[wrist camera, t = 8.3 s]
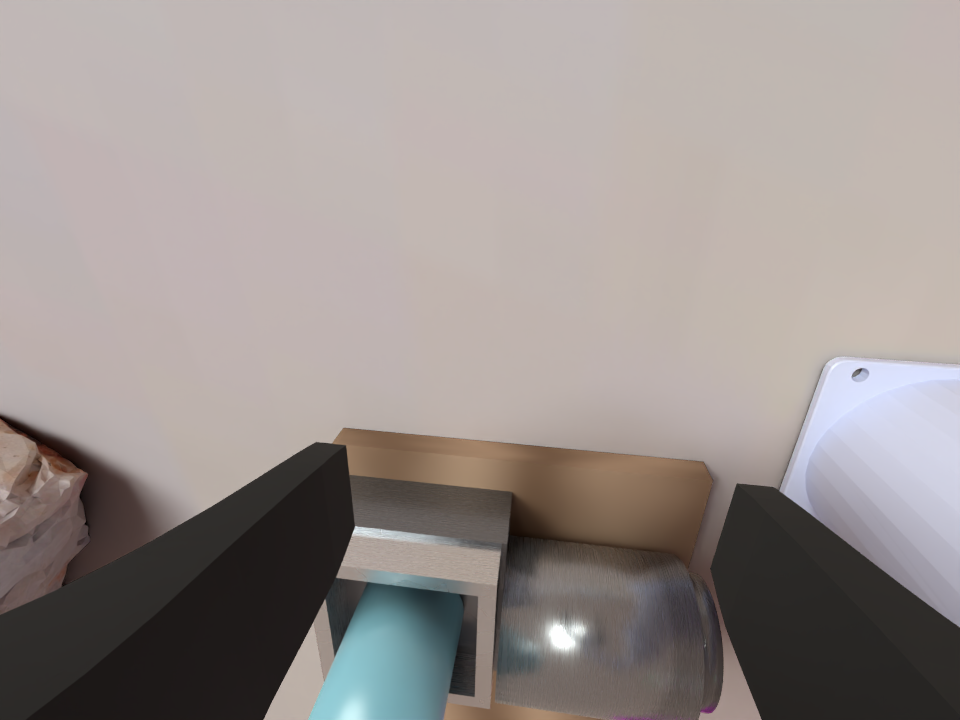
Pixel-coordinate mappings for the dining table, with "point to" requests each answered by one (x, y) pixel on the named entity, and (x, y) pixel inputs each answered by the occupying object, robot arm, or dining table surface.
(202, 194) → the dining table surface
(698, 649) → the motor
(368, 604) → the blue bottle white cap
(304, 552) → the robot arm
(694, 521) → the mounting board
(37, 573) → the food item
